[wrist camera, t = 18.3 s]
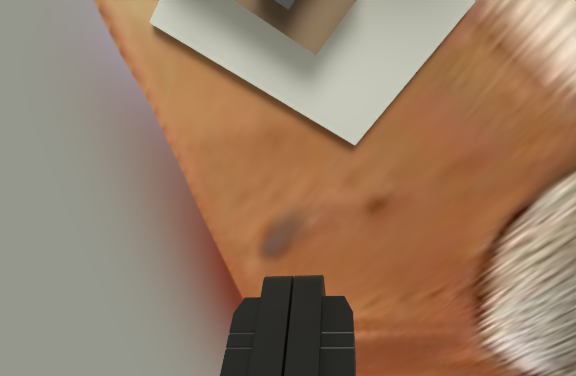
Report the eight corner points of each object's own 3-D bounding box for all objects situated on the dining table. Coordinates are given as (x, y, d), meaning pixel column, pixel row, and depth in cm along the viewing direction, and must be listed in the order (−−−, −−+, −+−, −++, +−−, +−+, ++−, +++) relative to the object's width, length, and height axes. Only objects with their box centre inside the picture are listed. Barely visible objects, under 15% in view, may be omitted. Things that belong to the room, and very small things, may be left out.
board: (472, -4, 39) (475, 1, 38) (354, 138, 47) (355, 145, 46) (241, -175, 34) (239, -174, 33) (153, 17, 42) (149, 22, 41)
